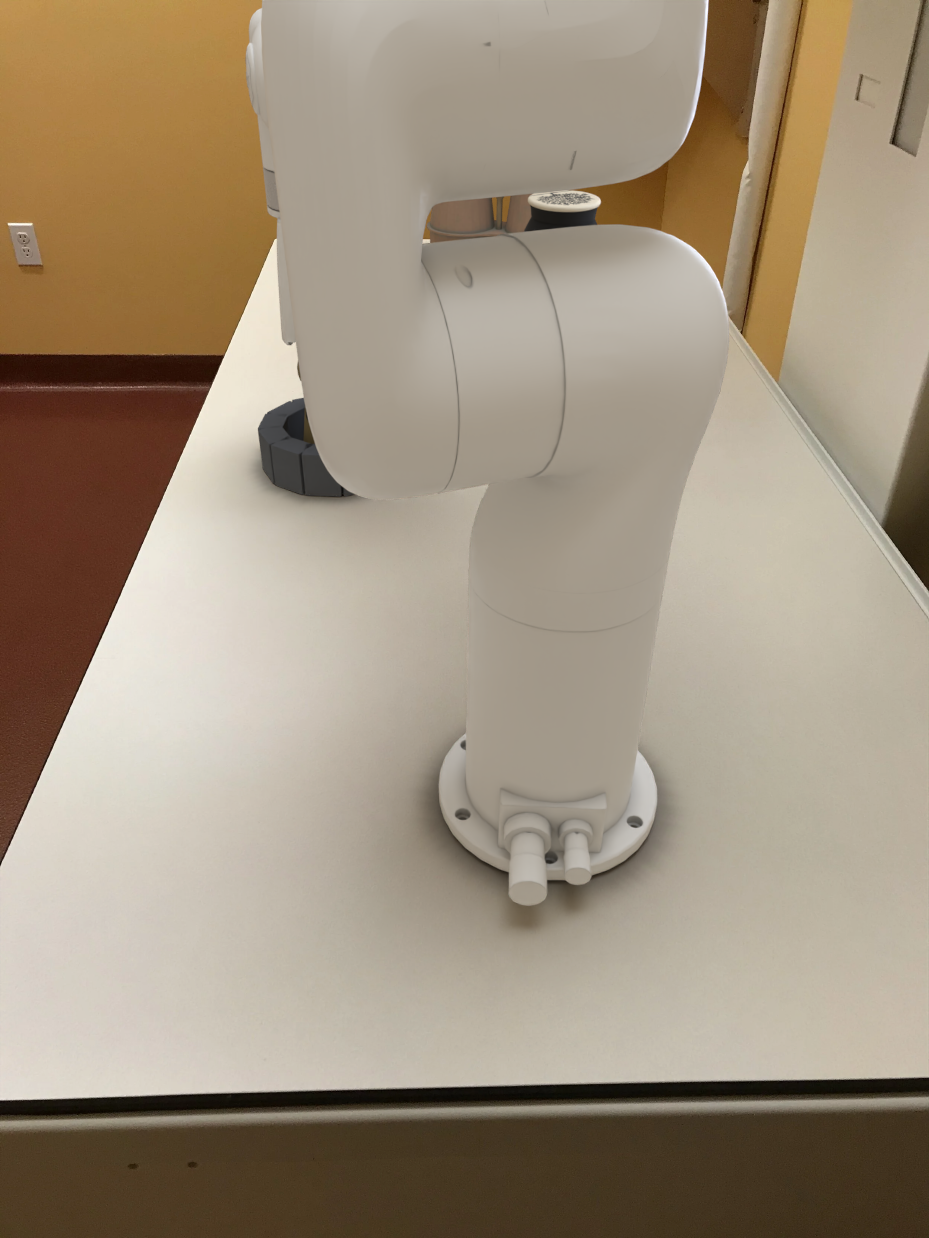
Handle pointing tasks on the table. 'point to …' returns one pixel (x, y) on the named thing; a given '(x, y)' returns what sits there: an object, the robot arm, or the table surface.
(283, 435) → the segmented block ring
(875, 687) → the table surface
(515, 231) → the binoculars
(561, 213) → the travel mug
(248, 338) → the table surface
